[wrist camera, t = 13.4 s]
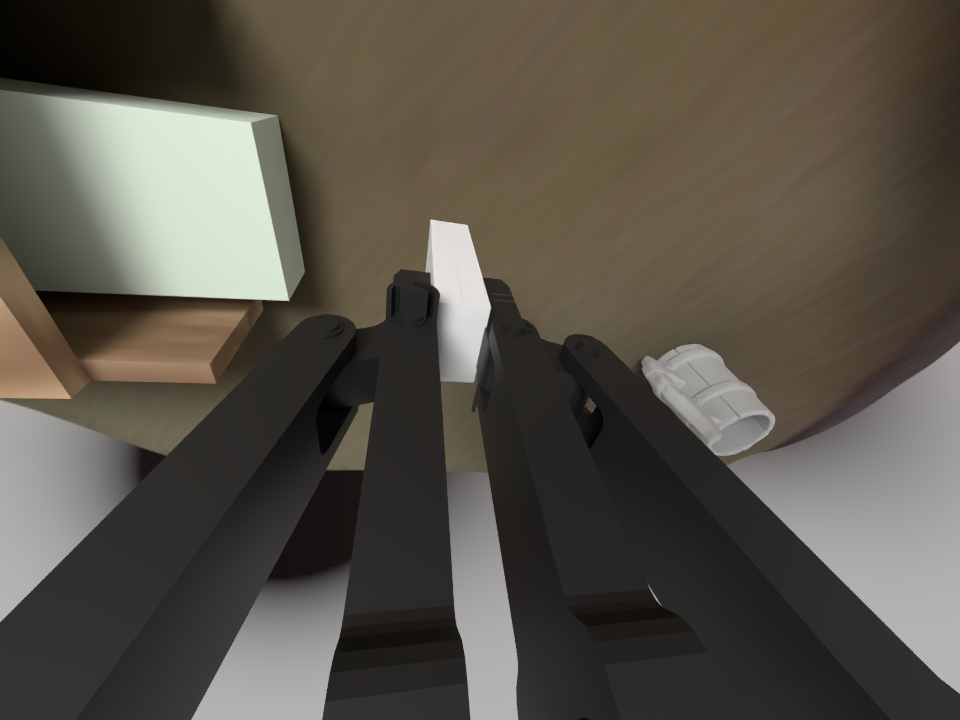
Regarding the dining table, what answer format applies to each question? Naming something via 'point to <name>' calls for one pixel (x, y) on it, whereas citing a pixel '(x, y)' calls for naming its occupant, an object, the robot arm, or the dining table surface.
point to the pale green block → (144, 195)
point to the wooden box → (111, 337)
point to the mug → (709, 398)
